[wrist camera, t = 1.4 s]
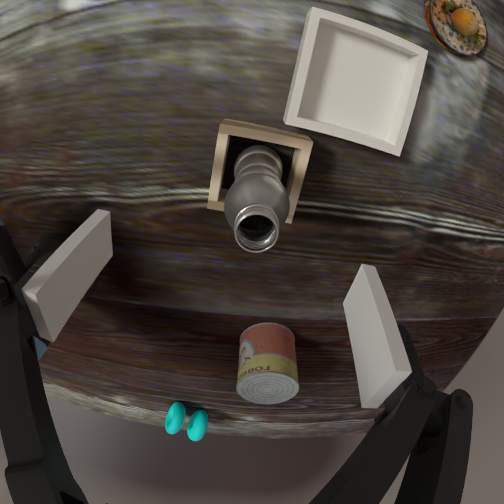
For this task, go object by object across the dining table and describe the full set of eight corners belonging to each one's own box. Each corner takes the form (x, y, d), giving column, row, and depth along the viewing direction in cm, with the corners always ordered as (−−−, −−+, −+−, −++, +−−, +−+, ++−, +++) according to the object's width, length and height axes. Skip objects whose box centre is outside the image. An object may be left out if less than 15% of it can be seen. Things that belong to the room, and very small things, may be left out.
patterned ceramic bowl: (488, 54, 28) (517, 57, 22) (437, 59, 31) (465, 60, 25) (466, -11, 22) (493, -17, 16) (411, -12, 25) (435, -23, 19)
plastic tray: (388, 149, 39) (399, 156, 36) (282, 119, 38) (285, 124, 35) (414, 51, 31) (428, 51, 27) (307, 13, 29) (312, 6, 26)
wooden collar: (288, 208, 45) (291, 223, 41) (212, 194, 44) (207, 208, 40) (307, 135, 39) (313, 142, 35) (224, 118, 38) (220, 123, 34)
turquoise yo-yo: (178, 395, 74) (172, 426, 66) (211, 406, 77) (207, 436, 69) (167, 407, 79) (161, 435, 71) (198, 417, 82) (194, 445, 73)
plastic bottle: (287, 149, 40) (309, 208, 23) (272, 192, 44) (280, 275, 27) (242, 135, 39) (228, 184, 22) (229, 179, 43) (208, 256, 26)
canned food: (253, 315, 57) (252, 366, 47) (305, 332, 59) (311, 381, 49) (231, 349, 62) (227, 396, 52) (278, 362, 65) (280, 408, 55)
